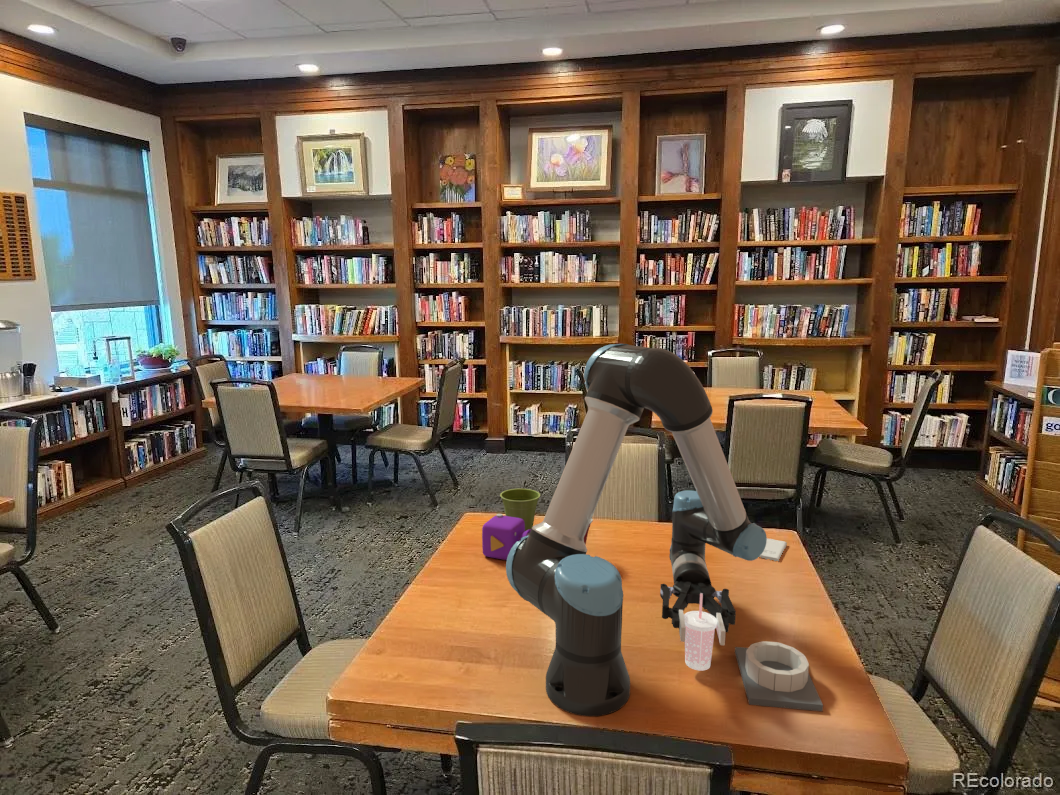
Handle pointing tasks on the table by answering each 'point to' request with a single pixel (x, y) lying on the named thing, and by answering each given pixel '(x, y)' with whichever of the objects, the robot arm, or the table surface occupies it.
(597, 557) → the robot arm
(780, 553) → the external hard drive
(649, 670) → the table surface
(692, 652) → the beverage cup
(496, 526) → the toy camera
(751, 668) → the cup holder
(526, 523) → the plant pot
